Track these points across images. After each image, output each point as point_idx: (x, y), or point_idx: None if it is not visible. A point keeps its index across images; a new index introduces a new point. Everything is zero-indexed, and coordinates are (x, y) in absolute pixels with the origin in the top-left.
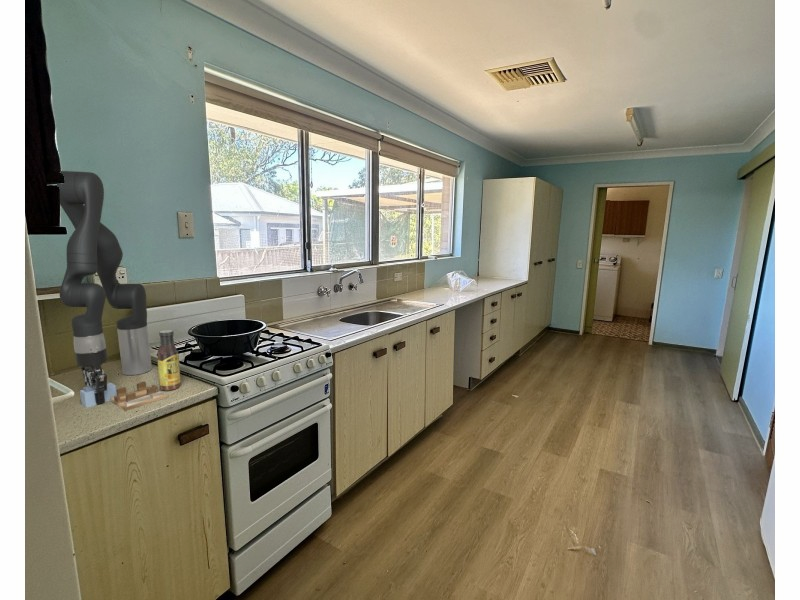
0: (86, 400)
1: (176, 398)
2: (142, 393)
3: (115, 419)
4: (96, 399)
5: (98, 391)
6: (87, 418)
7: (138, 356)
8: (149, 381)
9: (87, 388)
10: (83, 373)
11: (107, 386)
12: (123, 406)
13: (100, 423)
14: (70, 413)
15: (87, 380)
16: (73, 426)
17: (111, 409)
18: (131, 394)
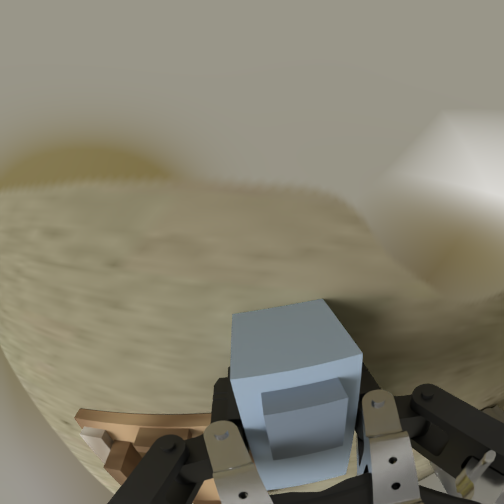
0: (231, 347)
1: None
2: (204, 485)
3: (23, 360)
4: (229, 387)
5: (156, 448)
6: (66, 290)
7: (460, 494)
8: None
9: (276, 424)
10: (485, 441)
11: (280, 472)
12: (90, 421)
13: (9, 315)
14: (198, 225)
15: (370, 462)
16: (20, 224)
17: (122, 389)
18: (113, 477)
